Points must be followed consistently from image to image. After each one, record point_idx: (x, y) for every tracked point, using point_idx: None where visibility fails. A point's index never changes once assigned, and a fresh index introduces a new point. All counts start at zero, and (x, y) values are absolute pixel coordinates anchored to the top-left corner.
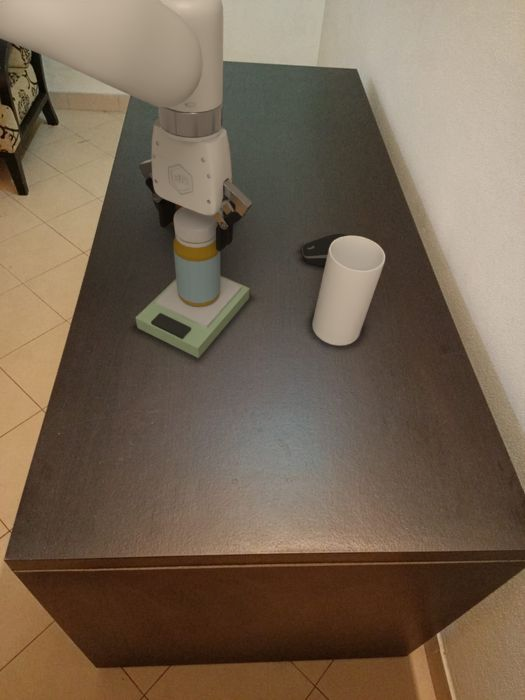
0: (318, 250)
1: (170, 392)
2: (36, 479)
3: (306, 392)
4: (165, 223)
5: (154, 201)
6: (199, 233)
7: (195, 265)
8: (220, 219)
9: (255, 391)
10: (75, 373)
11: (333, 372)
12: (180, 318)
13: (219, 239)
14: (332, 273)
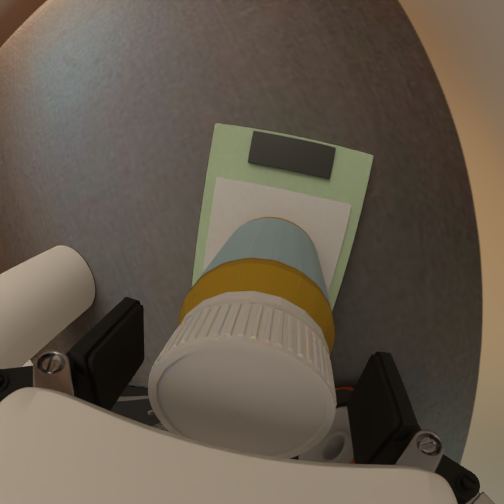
0: (137, 407)
1: (238, 46)
2: None
3: (61, 147)
4: (373, 367)
5: (419, 429)
6: (183, 338)
7: (232, 256)
8: (47, 384)
9: (115, 110)
10: (403, 39)
11: (46, 197)
12: (283, 184)
13: (99, 322)
14: None
